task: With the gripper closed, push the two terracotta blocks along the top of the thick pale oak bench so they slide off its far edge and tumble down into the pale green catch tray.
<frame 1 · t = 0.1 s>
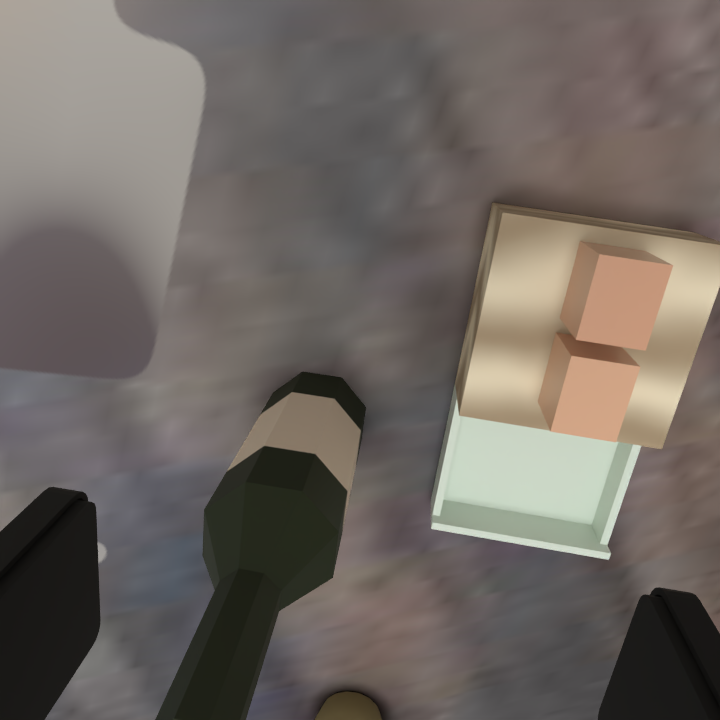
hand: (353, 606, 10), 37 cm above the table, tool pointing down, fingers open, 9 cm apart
wine bottle: (317, 416, 50), on the table
block 2: (601, 285, 38), point 6 cm above the table, touching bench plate
catch tray: (527, 458, 50), on the table
block 1: (576, 372, 40), point 6 cm above the table, touching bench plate
squeeze bottle: (351, 709, 61), on the table
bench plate: (566, 312, 45), on the table
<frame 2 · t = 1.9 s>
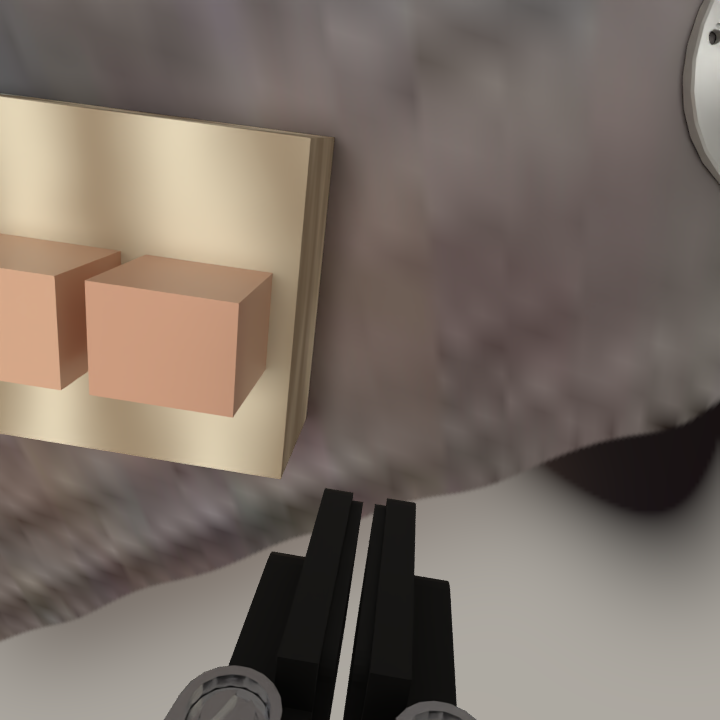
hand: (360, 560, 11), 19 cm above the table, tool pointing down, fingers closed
block 2: (207, 313, 24), point 6 cm above the table, touching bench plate
block 1: (61, 291, 24), point 6 cm above the table, touching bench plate
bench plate: (178, 269, 30), on the table
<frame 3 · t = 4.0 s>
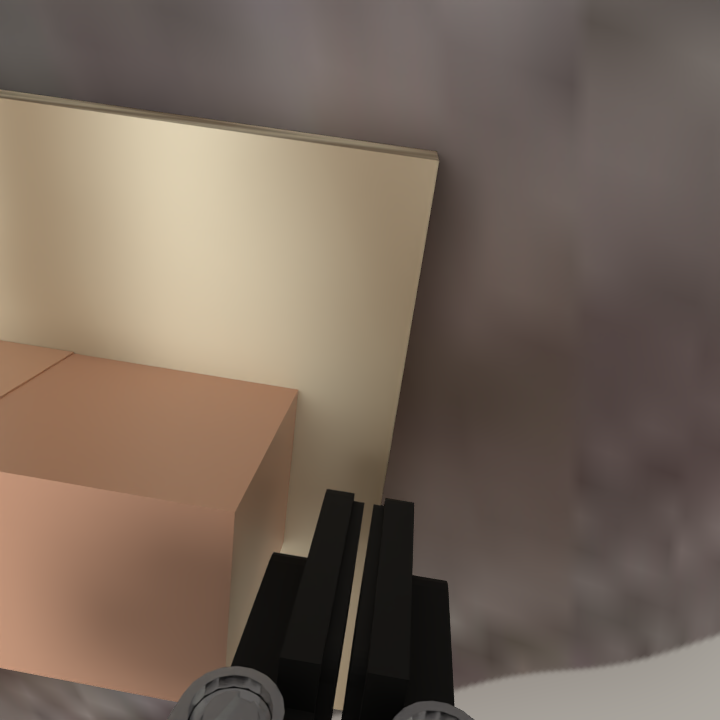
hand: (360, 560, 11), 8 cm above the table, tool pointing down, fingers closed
block 2: (183, 452, 14), point 6 cm above the table, touching block 1, gripper
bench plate: (182, 348, 20), on the table
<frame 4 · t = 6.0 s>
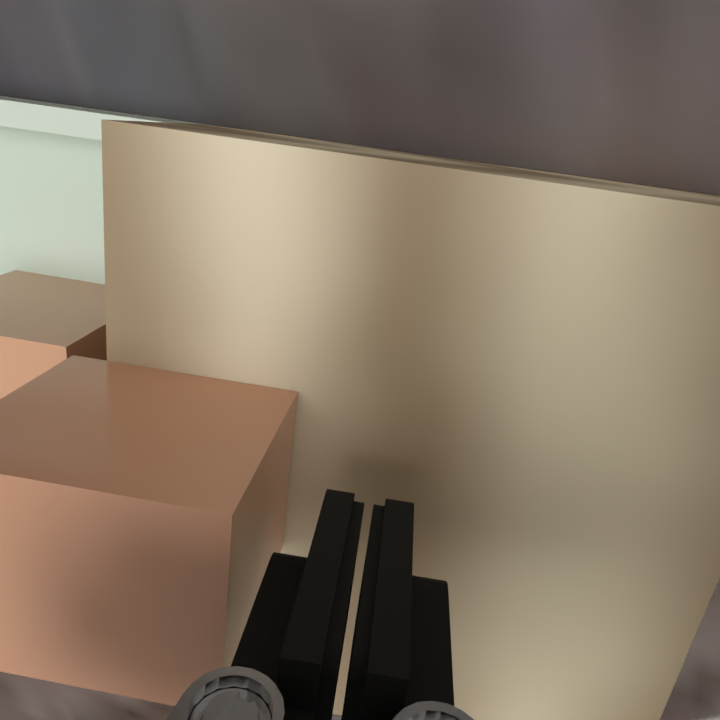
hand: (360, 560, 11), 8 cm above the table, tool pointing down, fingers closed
block 2: (182, 454, 14), point 6 cm above the table, touching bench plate, gripper
catch tray: (36, 330, 20), on the table
block 1: (119, 385, 17), point 3 cm above the table, tilted 90°, touching catch tray
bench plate: (416, 391, 19), on the table
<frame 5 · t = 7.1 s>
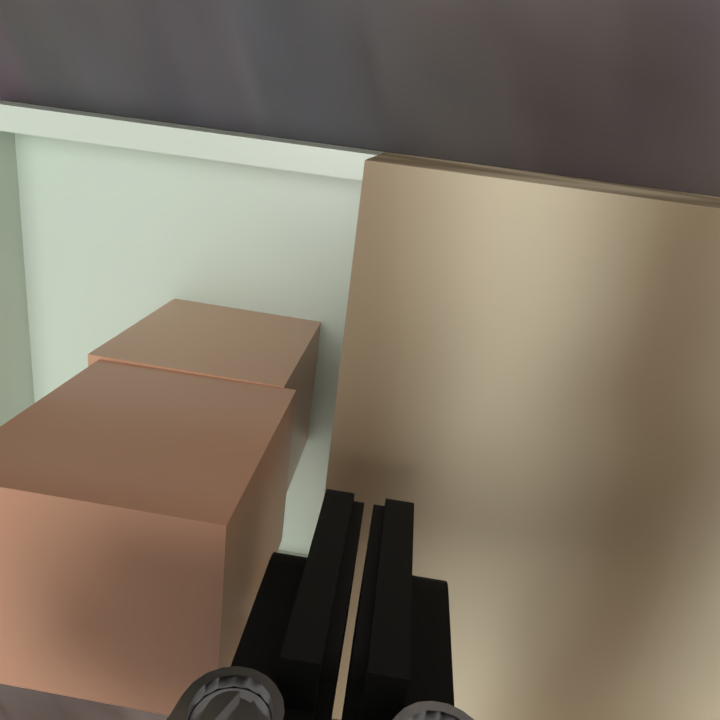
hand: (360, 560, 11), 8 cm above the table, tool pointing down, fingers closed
block 2: (261, 534, 12), point 8 cm above the table, tilted 90°, touching block 1, gripper
catch tray: (185, 357, 19), on the table
block 1: (298, 418, 16), point 3 cm above the table, tilted 90°, touching block 2, catch tray
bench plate: (577, 418, 19), on the table
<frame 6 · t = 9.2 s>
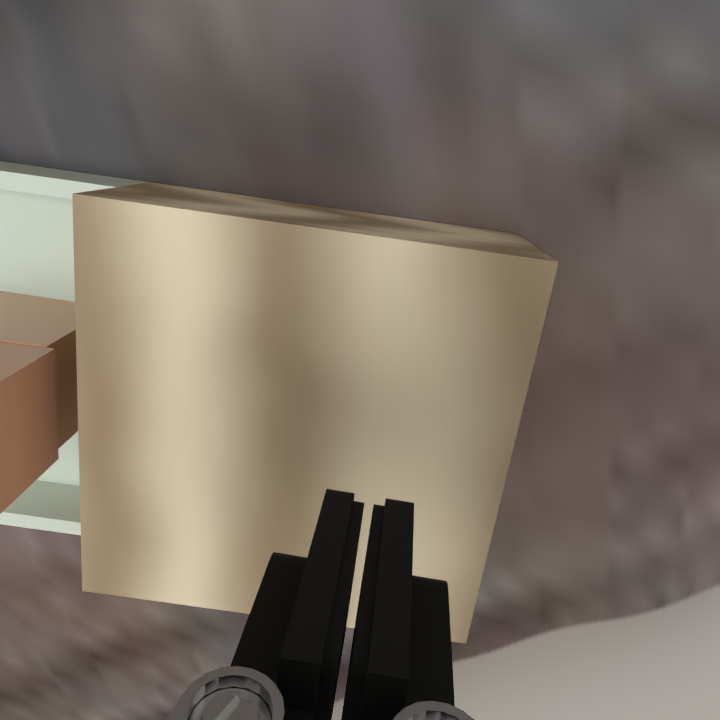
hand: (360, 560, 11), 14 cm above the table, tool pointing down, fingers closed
block 2: (12, 439, 18), point 8 cm above the table, tilted 90°, touching block 1
catch tray: (15, 337, 25), on the table
block 1: (83, 376, 22), point 3 cm above the table, tilted 90°, touching block 2, catch tray
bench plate: (313, 378, 25), on the table
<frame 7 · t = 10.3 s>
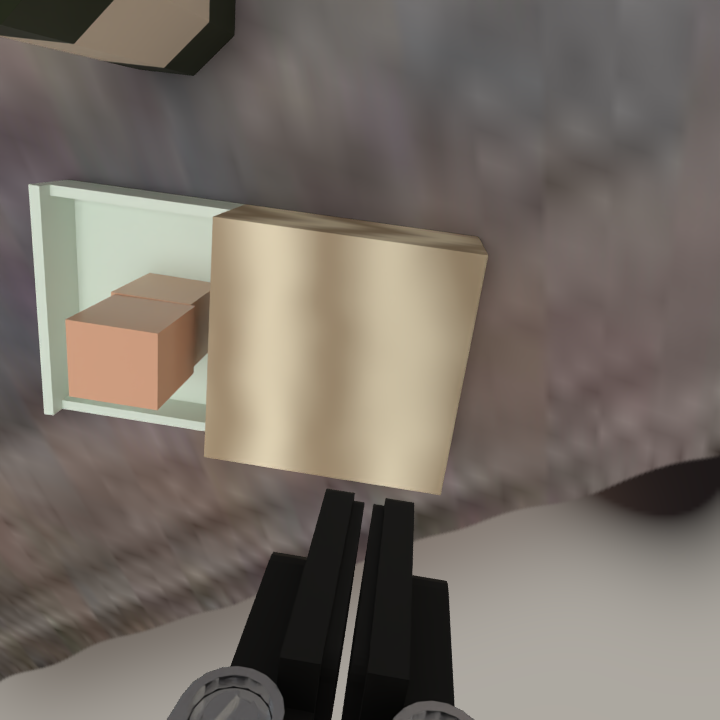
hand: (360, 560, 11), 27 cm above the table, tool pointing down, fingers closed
block 2: (177, 355, 31), point 8 cm above the table, tilted 90°, touching block 1
catch tray: (155, 303, 39), on the table
block 1: (204, 325, 36), point 3 cm above the table, tilted 90°, touching block 2, catch tray
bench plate: (347, 331, 39), on the table
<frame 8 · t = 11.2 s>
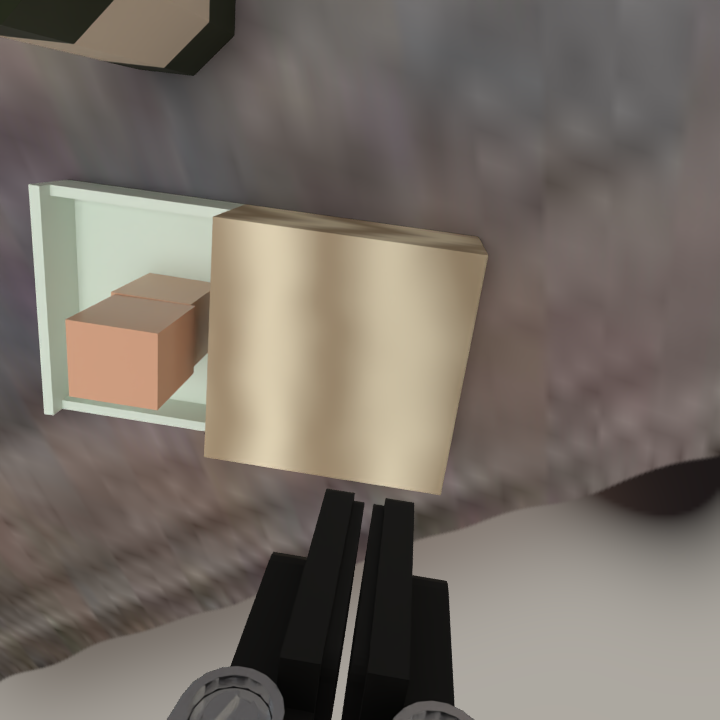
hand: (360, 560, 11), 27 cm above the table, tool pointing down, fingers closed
block 2: (177, 355, 31), point 8 cm above the table, tilted 90°, touching block 1
catch tray: (155, 303, 39), on the table
block 1: (204, 325, 36), point 3 cm above the table, tilted 90°, touching block 2, catch tray
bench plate: (347, 331, 39), on the table
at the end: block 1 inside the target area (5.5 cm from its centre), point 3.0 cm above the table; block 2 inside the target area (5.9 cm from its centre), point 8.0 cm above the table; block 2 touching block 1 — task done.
